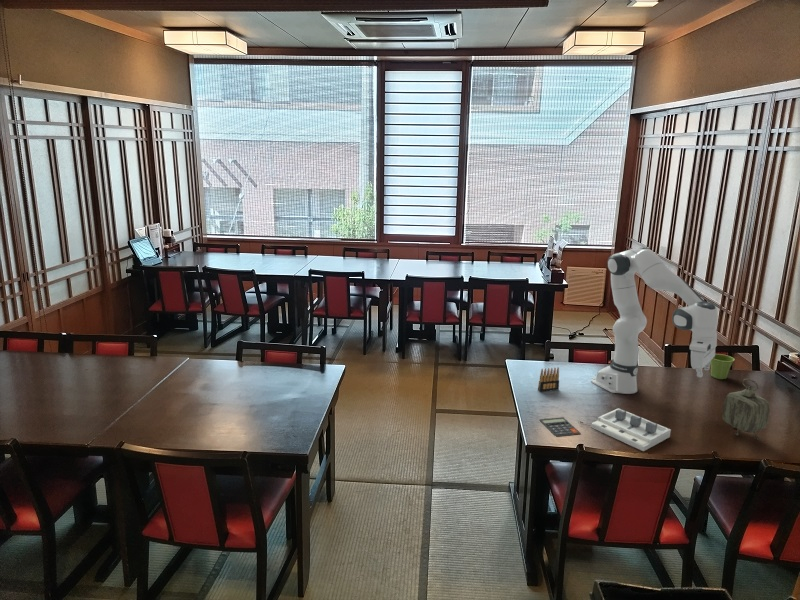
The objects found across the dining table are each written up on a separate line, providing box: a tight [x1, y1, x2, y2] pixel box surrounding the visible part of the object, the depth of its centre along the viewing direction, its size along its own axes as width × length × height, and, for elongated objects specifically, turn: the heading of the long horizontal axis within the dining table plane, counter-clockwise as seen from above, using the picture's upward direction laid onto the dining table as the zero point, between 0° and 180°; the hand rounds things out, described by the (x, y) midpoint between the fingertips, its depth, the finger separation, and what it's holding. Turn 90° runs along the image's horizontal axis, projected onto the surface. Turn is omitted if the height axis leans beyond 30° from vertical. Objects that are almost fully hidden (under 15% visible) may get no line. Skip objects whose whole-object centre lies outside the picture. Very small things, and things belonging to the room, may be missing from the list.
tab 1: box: [615, 408, 627, 421], centre depth 232 cm, size 3×3×4 cm
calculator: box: [539, 416, 581, 438], centre depth 229 cm, size 12×1×15 cm
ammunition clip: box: [537, 366, 560, 393], centre depth 265 cm, size 11×2×12 cm, turn 104°
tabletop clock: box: [721, 378, 771, 440], centre depth 222 cm, size 14×9×25 cm, turn 20°
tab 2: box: [630, 414, 643, 427], centre depth 227 cm, size 3×3×4 cm
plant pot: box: [710, 353, 735, 380], centre depth 284 cm, size 12×12×11 cm
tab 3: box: [645, 420, 658, 434], centre depth 221 cm, size 3×3×4 cm
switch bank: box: [590, 407, 672, 452], centre depth 225 cm, size 24×20×4 cm
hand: (703, 373), depth 221 cm, fingers open, 8 cm apart
